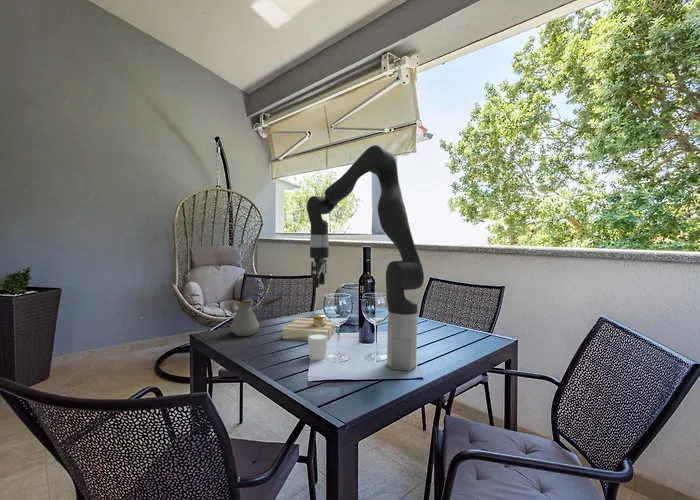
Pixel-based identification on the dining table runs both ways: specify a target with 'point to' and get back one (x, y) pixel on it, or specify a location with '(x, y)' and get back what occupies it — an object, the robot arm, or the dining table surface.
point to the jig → (307, 329)
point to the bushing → (318, 319)
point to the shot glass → (317, 346)
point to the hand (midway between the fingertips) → (319, 285)
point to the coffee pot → (247, 318)
